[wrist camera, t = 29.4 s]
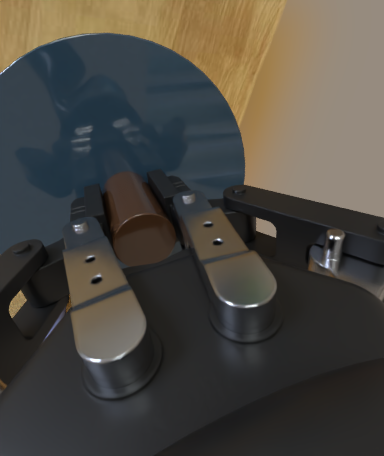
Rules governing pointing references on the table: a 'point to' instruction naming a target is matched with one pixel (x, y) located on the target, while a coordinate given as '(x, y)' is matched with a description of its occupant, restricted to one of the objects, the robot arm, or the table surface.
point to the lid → (109, 139)
